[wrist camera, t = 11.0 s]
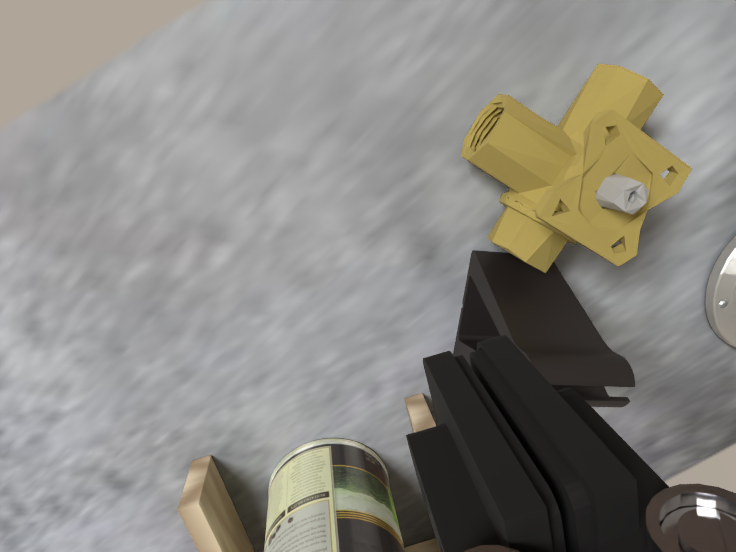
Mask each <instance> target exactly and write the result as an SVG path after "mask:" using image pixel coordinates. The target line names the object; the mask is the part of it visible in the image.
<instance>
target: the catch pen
mask: <svg viewBox="0 0 736 552" xmlns="http://www.w3.org/2000/svg"><path fill="white" fill-rule="evenodd" d="M404 399H405V402H406V406H407V410H408V414H409V418H410V422H411V425H412V429H413V433H415V432H418V431H422V430H425V429H428V428H432V427H435V426H436V424H435V422H434V420H433V417H432V415H431V413H430V410H429V408H428V406H427V403H426V401H425V398H424V396H423V394H422V393H421V394H418V395H414V396H411V397H408V398H404ZM178 512H179V514H180V516H181V518H182V519H183V521H184V523H185V525H186V527H187V529H188V531H189V533H190V535H191V537H192V539H193V541H194V543H195V545H196V547H197V549H198V551H199V552H255V551H254V549H253V546H252V544H251V542H250V540H249V538H248V535H247V533H246V531H245V529H244V527H243V524H242V522H241V520H240V518H239V516H238V514H237V511H236V509H235V507H234V505H233V503H232V500H231V498H230V496H229V494H228V492H227V489H226V487H225V485H224V483H223V481H222V478H221V476H220V474H219V472H218V470H217V467H216V465H215V463H214V461H213V459H212V456H211V455H210V456H206V457H203V458H200V459H196V460H193V461H192V464H191V467H190V470H189V474H188V477H187V480H186V483H185V487H184V490H183V493H182V497H181V500H180V503H179V506H178ZM404 549H405V552H440V550H439V546H438V543H437V540H436V538H434V539H431V540H428V541H425V542H421V543H418V544H415V545H411V546H408V547H405V548H404Z"/></svg>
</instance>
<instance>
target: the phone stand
mask: <svg viewBox="0 0 736 552" xmlns="http://www.w3.org/2000/svg"><path fill="white" fill-rule="evenodd" d="M502 335H506V336H507V337H508V338H509V339H510V340H511V341H512V342H513V343H514V345H515V346H516V347H517V348H518V349H519V350H520V351H521V352H522V353H523V355H524V356H525V357H526V358H527V359H528V360H529V361H530V362H531V363H532V364H533V366H534V367H535V368H536V369H537V370H538V371H539V372H540V373H541V374H542V376H543V377H544V378H545V379H546V380H547V381H548V382H549V383H550V384H551V386H552V387H553V388H554V389H555V390H556V391H557V390H560V389H563V388H567V387H569V388H572V389H573V390H575V391H576V392H577V393H578V394H579V395H580V396H581V397H582V398H583V399H584V400H585V401H586V402H587V403H588V404H589V405H590V406H591V407H624V406H626V405H627V404H628V403H629V402H630V400H629V399H628V397H609V396H608V394H607V392H606V390H605V388H604V386H618V387H635V380H634V374H633V371H632V368H631V366H630V365H629V363H628V362H627V360H626V359H625V358H623V357H622V356H620V355H618V354H616V353H615V352H613V351H612V350H611V349H610V348H609V347H608V346H607V345H606V344H605V342H604V341H603V339H602V338H601V336H600V335H599V333H598V331H597V330H596V328H595V327H594V325H593V324H592V322H591V320H590V319H589V317H588V316H587V314H586V312H585V311H584V309H583V308H582V306H581V305H580V303H579V301H578V300H577V298H576V297H575V295H574V294H573V292H572V290H571V289H570V287H569V286H568V284H567V282H566V281H565V279H564V278H563V276H562V275H561V273H560V271H559V270H558V268H557V267H556V265H555V263H554V262H553V263H552V265H551V266H550V267H549V269H548V270H547V272H546V273H545V272H543V271H541V270H539V269H537V268H535V267H533V266H531V265H530V264H528V263H526V262H524V261H523V260H521V259H519V258H518V257H516V256H514V255H513V254H511V253H502V252H488V251H474V250H473V251H472V253H471V259H470V264H469V270H468V275H467V281H466V286H465V292H464V297H463V307H462V309H461V314H460V320H459V325H458V331H457V336H456V342H455V347H454V353H453V356H454V357H456V356H460V355H463V356H464V358H465V359H466V361H467V362H468V364H469V365H470V367H471V363H470V357H469V354H470V352H473V351H477V343H478V342H481V341H485V340H488V339H492V338H495V337H499V336H502Z"/></svg>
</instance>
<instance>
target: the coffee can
mask: <svg viewBox="0 0 736 552" xmlns="http://www.w3.org/2000/svg"><path fill="white" fill-rule="evenodd" d="M268 497H269V500H268V512H267V523H266V535H265V546H264V552H405V549H404V545H403V541H402V536H401V532H400V528H399V524H398V519H397V515H396V511H395V506H394V502H393V498H392V494H391V489H390V485H389V476H388V472H387V469H386V467H385V465H384V463H383V462H382V460H381V459H380V457H379V456H378V455H377V454H376V453H375V452H374V451H373V450H371V449H370V448H368V447H366V446H364V445H363V444H360V443H358V442H355V441H352V440H347V439H341V438H327V439H320V440H316V441H312V442H309V443H306V444H304V445H302V446H300V447H298V448H296V449H295V450H293V451H292V452H290V453H289V454H288V455H286V456H285V457H284V458H283V459H282V460H281V461H280V463H279V464H278V465H277V467H276V468H275V470H274V472H273V474H272V476H271V479H270V482H269V488H268Z"/></svg>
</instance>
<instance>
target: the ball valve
mask: <svg viewBox="0 0 736 552" xmlns="http://www.w3.org/2000/svg"><path fill="white" fill-rule="evenodd" d="M663 95H664V94H663V93H662V92H661V91H660V90H659V89H658V88H657V87H656V86H655V85H654V84H653V83H652V82H651V81H650V80H649V79H648V78H645V77H643V76H641V75H639V74H636V73H634V72H632V71H630V70H628V69H625V68H623V67H621V66H615V65H606V64H598V65H597V66H596V68H595V69H594V71H593V73H592V74H591V76H590V77H589V79H588V80H587V82H586V83H585V85H584V86H583V88H582V89H581V91H580V92H579V94H578V95H577V97H576V98H575V100H574V102H573V103H572V105H571V106H570V108H569V109H568V111H567V112H566V114H565V115H564V117H563V119H562V120H561V122H560V123H559V125H558V126H555V125H553V124H551V123H550V122H548V121H546V120H544V119H543V118H541V117H540V116H538V115H537V114H535V113H534V112H532V111H531V110H530V109H528V108H527V107H525V106H524V105H522V104H521V103H519V102H518V101H516V100H515V99H513V98H512V97H511V96H509V95H502V94H498V95H497V96H496V97H495V98H494V99H493V100H492V101H491V102H490V103H489V104H488V105H487V106H486V107H485V108H484V109H483V110H481V111H480V113H479V115H478V116H477V118H476V120H475V122H474V123H473V125H472V127H471V129H470V130H469V132H468V134H467V136H466V137H465V139H464V143H463V149H462V155H461V157H463V158H464V159H466V160H468V161H469V162H471V163H472V164H474V165H475V166H477V167H478V168H480V169H482V170H483V171H485V172H486V173H488V174H489V175H491V176H492V177H494V178H496V179H497V180H499V181H500V182H502V183H503V184H505V185H506V186H508V187H510V188H509V191H508V192H506V193H502V195H501V198H500V200H499V202H500V203H502V204H503V205H505V206H506V208H505V210H504V211H503V213H502V215H501V216H500V218H499V219H498V221H497V223H496V224H495V226H494V227H493V229H492V231H491V232H490V234H489V235H488V237H487V238H488V239H489V240H490V241H491V242H493V243H494V244H496V245H498V246H499V247H501V248H503V249H504V250H506V251H508V252H509V253H511V254H513V255H514V256H516V257H518V258H519V259H521V260H523V261H524V262H526V263H528V264H530V265H531V266H533V267H535V268H537V269H539V270H541V271H543V272H545V273H546V272H547V270H548V269H549V267H550V266H551V265H552V263H553V262H554V260H555V259H556V257H557V256H558V254H559V253H560V252H561V250H562V249H563V247H564V246H565V244H566V243H567V241H568V242H570V243H572V244H577V243H580V244H581V245H583V246H585V247H586V248H588V249H590V250H592V251H593V252H595V253H597V254H598V255H600V256H602V257H603V258H605V259H607V260H608V261H610V262H612V263H613V264H615V265H617V266H618V267H619V266H620V265H622V264H623V263H625V262H627V261H628V260H630V259H631V258H633V257H635V256H636V255H637V249H638V242H639V234H640V229H641V226H642V224H643V221H644V219H645V216H646V213H647V211H648V210H649V209H651V208H652V207H654V206H656V205H658V204H659V203H661V202H663V201H665V200H666V199H668V198H670V197H671V196H673V195H675V194H677V193H678V192H679V190H680V188H681V187H682V185H683V183H684V182H685V180H686V178H687V177H688V175H689V173H690V172H691V170H692V168H691V167H690V166H688V165H687V164H685V163H684V162H683V161H681V160H680V159H679V158H677V157H676V156H675V155H673V154H672V153H671V152H669V151H668V150H667V149H665V148H664V147H663V146H661V145H660V144H659V143H657V142H656V141H655V140H653V139H652V138H650V137H649V136H648V135H646V134H645V133H644V132H642V131H641V129H642V127H643V125H644V124H645V122H646V121H647V119H648V118H649V116H650V115H651V113H652V112H653V110H654V109H655V107H656V106H657V104H658V103H659V101H660V100H661V98H662V96H663ZM666 169H667V170H668V171H670V172H669V173H668V175H667V176H666V178H665V179H663V178H662V176H661V175H660V174H661V173H662V172H664V171H665V170H666ZM618 240H620V242H621V243H622V244H619V245H616V246H613V247H611V246H612V245H613V244H614V243H615V242H617V241H618Z"/></svg>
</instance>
